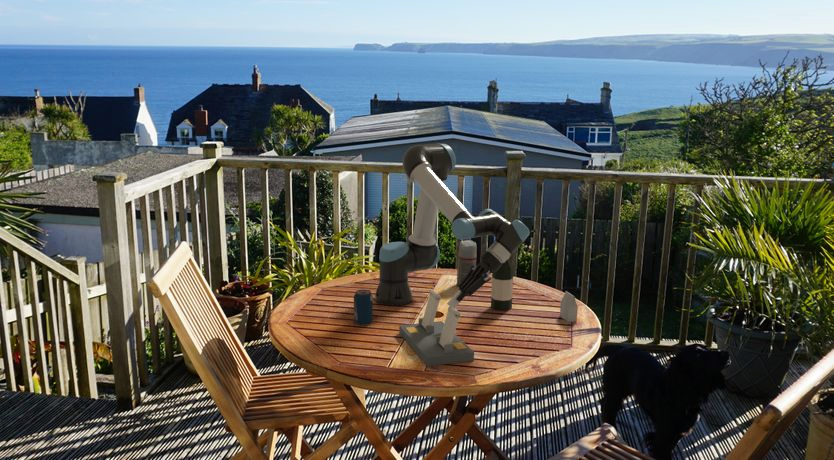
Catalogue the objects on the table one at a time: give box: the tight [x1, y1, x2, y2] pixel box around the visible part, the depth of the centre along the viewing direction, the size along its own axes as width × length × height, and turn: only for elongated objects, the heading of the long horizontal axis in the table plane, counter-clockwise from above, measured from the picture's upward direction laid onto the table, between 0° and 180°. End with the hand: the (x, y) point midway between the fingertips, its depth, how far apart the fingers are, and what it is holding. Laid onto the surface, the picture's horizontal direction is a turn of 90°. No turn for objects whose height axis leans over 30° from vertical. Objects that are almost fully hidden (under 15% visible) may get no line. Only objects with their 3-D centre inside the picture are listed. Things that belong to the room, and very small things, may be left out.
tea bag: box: [559, 290, 578, 323], centre depth 259 cm, size 4×7×10 cm, turn 14°
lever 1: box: [422, 289, 442, 329], centre depth 237 cm, size 2×6×13 cm, turn 19°
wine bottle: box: [490, 257, 515, 312], centre depth 269 cm, size 8×8×30 cm
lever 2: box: [439, 305, 461, 348], centre depth 221 cm, size 2×6×13 cm, turn 19°
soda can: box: [353, 289, 374, 326], centre depth 251 cm, size 7×7×12 cm
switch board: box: [398, 317, 475, 367], centre depth 230 cm, size 16×30×6 cm, turn 18°
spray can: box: [456, 239, 478, 286], centre depth 299 cm, size 8×8×20 cm
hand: (450, 306), depth 239 cm, fingers closed
